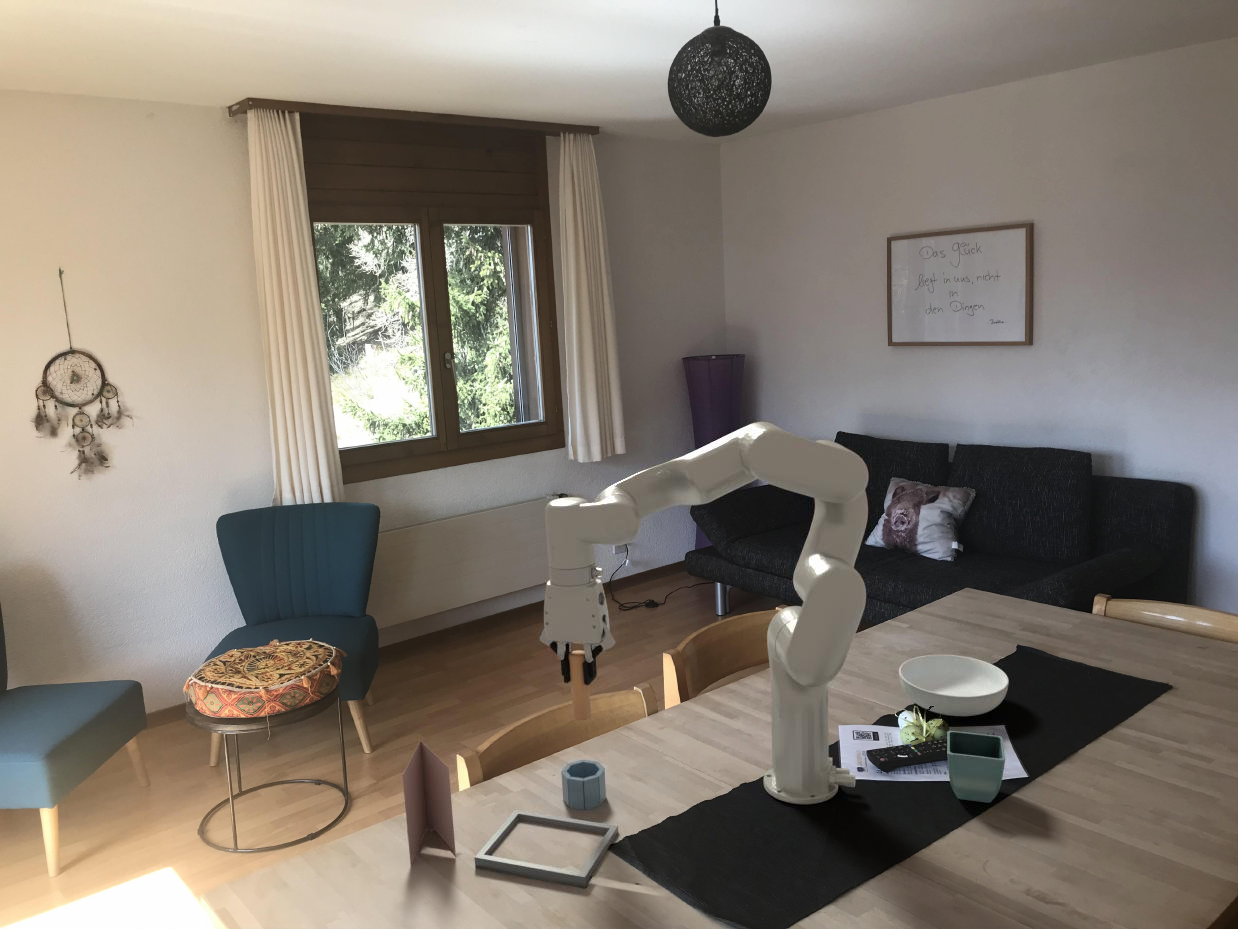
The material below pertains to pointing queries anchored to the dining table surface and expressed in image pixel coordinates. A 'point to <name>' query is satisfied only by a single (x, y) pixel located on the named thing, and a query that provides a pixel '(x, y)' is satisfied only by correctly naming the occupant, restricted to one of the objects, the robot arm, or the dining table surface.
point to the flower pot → (975, 765)
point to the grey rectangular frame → (543, 871)
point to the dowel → (579, 687)
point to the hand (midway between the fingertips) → (579, 680)
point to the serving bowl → (953, 684)
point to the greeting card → (427, 798)
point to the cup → (583, 784)
